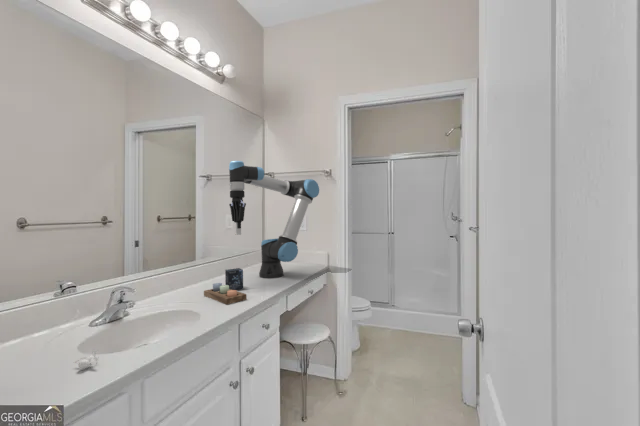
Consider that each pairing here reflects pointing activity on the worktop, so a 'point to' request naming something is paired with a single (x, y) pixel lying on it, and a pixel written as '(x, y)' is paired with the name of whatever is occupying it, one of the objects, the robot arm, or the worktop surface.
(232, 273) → the box
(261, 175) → the robot arm
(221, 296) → the wooden tray
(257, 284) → the worktop surface
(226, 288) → the plunger sage
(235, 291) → the plunger terracotta
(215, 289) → the plunger slate
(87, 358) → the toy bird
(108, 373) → the worktop surface
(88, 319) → the worktop surface
